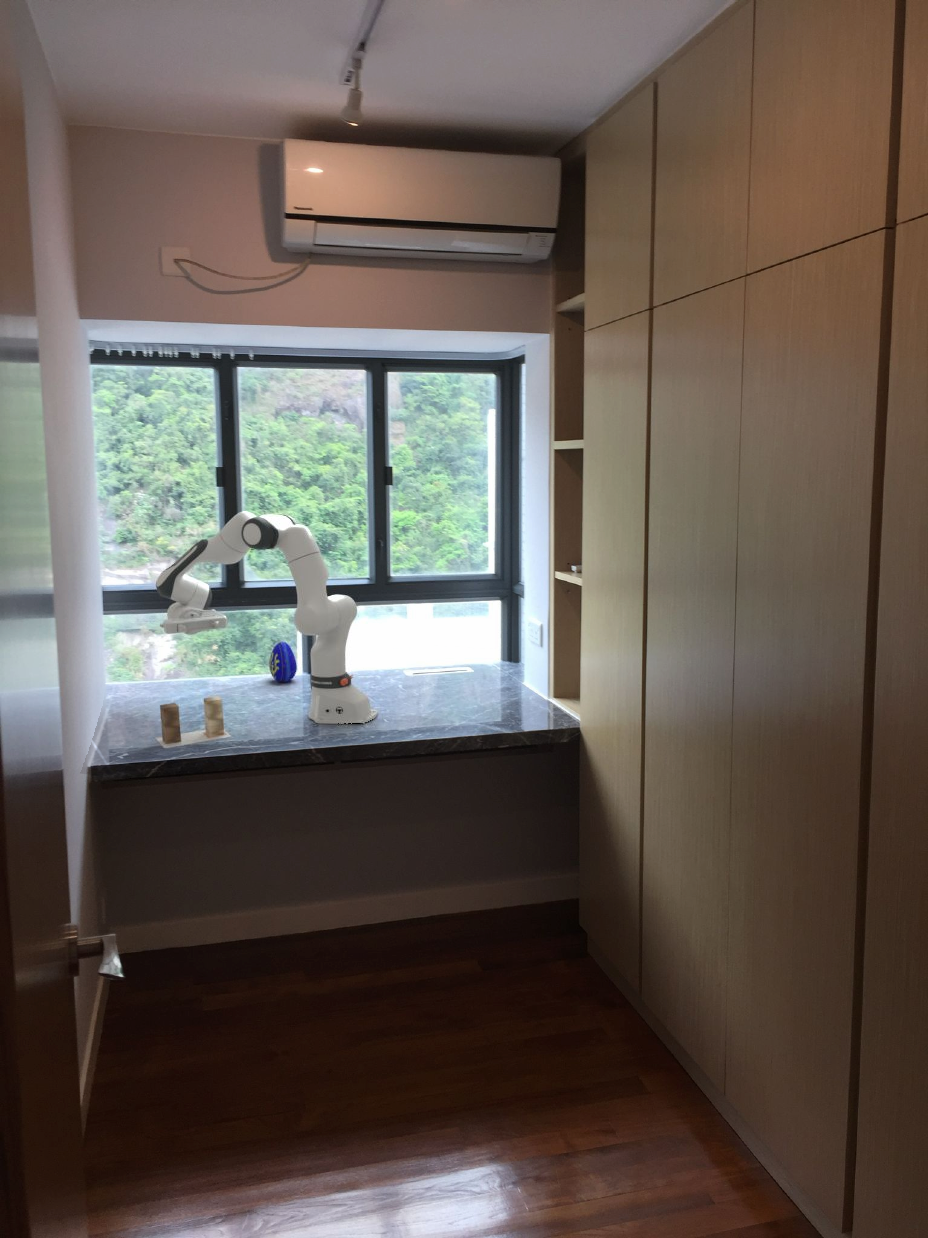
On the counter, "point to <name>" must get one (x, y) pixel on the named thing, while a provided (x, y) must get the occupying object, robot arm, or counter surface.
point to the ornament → (282, 663)
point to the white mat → (193, 738)
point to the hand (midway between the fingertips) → (201, 628)
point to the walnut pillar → (170, 723)
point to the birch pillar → (213, 716)
